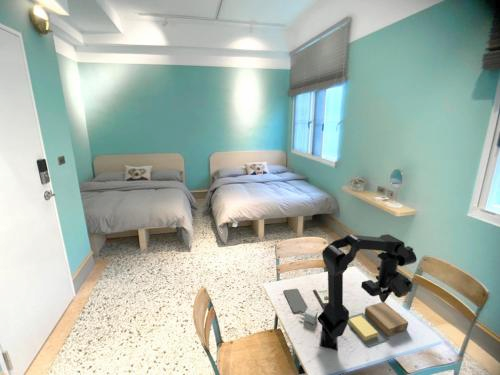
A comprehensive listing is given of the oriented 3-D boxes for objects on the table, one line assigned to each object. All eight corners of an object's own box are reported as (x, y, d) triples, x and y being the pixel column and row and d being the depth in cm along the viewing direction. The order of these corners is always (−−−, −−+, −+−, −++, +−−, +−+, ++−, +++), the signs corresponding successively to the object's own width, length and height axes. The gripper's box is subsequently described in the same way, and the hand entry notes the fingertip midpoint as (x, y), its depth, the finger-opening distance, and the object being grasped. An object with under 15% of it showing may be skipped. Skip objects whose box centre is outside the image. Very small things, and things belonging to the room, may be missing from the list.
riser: (382, 309, 112) (383, 301, 110) (406, 330, 101) (408, 322, 100) (364, 314, 108) (365, 307, 107) (387, 337, 98) (388, 329, 96)
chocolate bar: (328, 318, 106) (313, 289, 123) (328, 320, 106) (313, 291, 123) (349, 316, 107) (330, 288, 124) (348, 318, 107) (330, 290, 124)
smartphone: (297, 288, 124) (309, 310, 110) (297, 289, 125) (309, 312, 111) (282, 290, 123) (293, 312, 109) (282, 291, 123) (293, 314, 109)
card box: (349, 319, 103) (348, 323, 104) (365, 336, 95) (364, 340, 96) (360, 315, 105) (360, 319, 106) (377, 332, 97) (377, 336, 98)
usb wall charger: (314, 325, 103) (314, 317, 102) (298, 318, 107) (298, 310, 106) (317, 318, 107) (317, 311, 105) (301, 312, 110) (301, 304, 109)
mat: (362, 313, 109) (362, 312, 109) (389, 339, 97) (389, 338, 97) (343, 319, 106) (343, 318, 106) (368, 347, 94) (368, 346, 93)
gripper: (386, 286, 86) (380, 323, 90) (426, 274, 91) (418, 310, 96) (362, 267, 96) (357, 302, 100) (400, 258, 102) (393, 291, 106)
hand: (382, 301), depth 100 cm, fingers closed
